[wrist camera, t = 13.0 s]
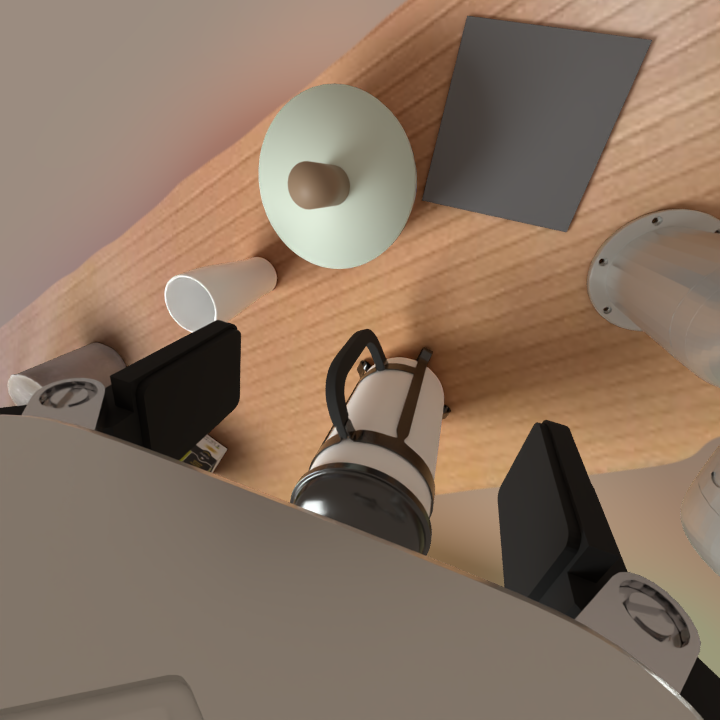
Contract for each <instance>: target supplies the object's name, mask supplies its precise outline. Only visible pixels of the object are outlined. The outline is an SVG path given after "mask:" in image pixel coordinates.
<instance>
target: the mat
mask: <svg viewBox="0 0 720 720" xmlns="http://www.w3.org/2000/svg"><path fill="white" fill-rule="evenodd" d="M651 42H652V40H647V39H640V38H632V37H624V36H617V35H609V34H602V33H594V32H586V31H579V30H571V29H564V28H556V27H549V26H541V25H533V24H526V23H518V22H511V21H503V20H495V19H488V18H480V17H473V16H467V19H466V23H465V27H464V31H463V35H462V40H461V44H460V48H459V52H458V56H457V60H456V64H455V68H454V72H453V76H452V80H451V84H450V88H449V93H448V97H447V101H446V105H445V109H444V113H443V117H442V121H441V125H440V129H439V133H438V137H437V141H436V146H435V150H434V154H433V158H432V162H431V166H430V170H429V174H428V178H427V182H426V186H425V190H424V194H423V199H422V200H423V201H427V202H432V203H436V204H441V205H445V206H450V207H454V208H459V209H463V210H468V211H472V212H477V213H481V214H486V215H491V216H495V217H500V218H504V219H509V220H513V221H518V222H522V223H527V224H531V225H536V226H540V227H545V228H549V229H554V230H558V231H563V232H567V230H568V228H569V225H570V223H571V221H572V219H573V216H574V214H575V212H576V210H577V207H578V205H579V203H580V201H581V198H582V196H583V194H584V192H585V189H586V187H587V185H588V183H589V181H590V178H591V176H592V174H593V172H594V169H595V167H596V165H597V163H598V160H599V158H600V156H601V154H602V151H603V149H604V147H605V145H606V142H607V140H608V138H609V136H610V133H611V131H612V129H613V127H614V124H615V122H616V120H617V118H618V116H619V113H620V111H621V109H622V107H623V104H624V102H625V100H626V98H627V95H628V93H629V91H630V89H631V86H632V84H633V82H634V80H635V77H636V75H637V73H638V71H639V68H640V66H641V64H642V62H643V59H644V57H645V55H646V53H647V51H648V48H649V46H650V44H651Z"/></svg>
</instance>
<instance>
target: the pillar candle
mask: <svg viewBox="0 0 720 720" xmlns="http://www.w3.org/2000/svg"><path fill="white" fill-rule="evenodd" d="M124 368H126V365H125V363H124V361H123V360H122V358H121V357H120V355H119V354H118V353H116V351H115V350H114V349H112V348H110V347H108V346H106V345H103V344H100V343H91V344H89V345H86V346H84V347H81V348H79V349H76V350H74V351H72V352H69V353H66V354H64V355H61V356H59V357H57V358H54V359H52V360H50V361H47V362H45V363H43V364H40V365H38V366H35V367H33V368H30V369H28V370H25V371H23V372H21V373H18V374H15V375H14V374H13V375H11V377H10V379H9V381H8V392H9V395H10V396H11V398H12V400H13V402H14V403H15V405H16V406H21V405H27V404H28V402H29V400H30V398H31V397H32V395H33V394H34V393H35V392H36V391H37V390H39V389H40V388H42V387H43V386H46V385H48V384H51V383H53V382H56V381H60V380H64V379H71V378H89V379H94V380H97V381H99V382H101V383H102V384H103V385H104V386H105V388H106V387H108V386H109V385H111V380H110V375H112V374H114V373H116V372H118V371H120V370H122V369H124Z"/></svg>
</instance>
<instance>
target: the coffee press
mask: <svg viewBox="0 0 720 720" xmlns="http://www.w3.org/2000/svg"><path fill="white" fill-rule="evenodd" d="M366 346H367V347H368V349H369V351H370V353H371V355H372V358H373V360H374V363H375V364H374V365H373V366H372V367H371V365H370V364H369V363H368V362H366V361H361V362H360V364H359V366H358V368H357V371H358V373H359V375H360V380H359V382H358V383H357V385H356V387H355V389H356V388H357V389H356V390H355V389H354V390H353V392H352V394H353V393H354V394H353V395H352V394H351V395H350V397H349V399H348V401H349V400H350V401H349V402H348V401H347V402H345V396H344V386H345V380H346V377H347V374H348V373H349V371H350V369H351V368H352V366H353V365H354V363H355V362H356V360H357V359H358V357H359V356H360V354H361V353H362V351H363V350H364V348H365V347H366ZM432 353H433V351H431V350H429V349H427V348H425V347H424V348H423V349H422V351H421V353H420V355H419V356H418V358H417V360H416V361H415V360H412V359H409V358H402V357H396V358H389V359H386V358H385V355H384V352H383V350H382V347H381V345H380V343H379V341H378V339H377V337H376V335H375V334H374V333H373V332H372V331H371V330H369V329H364V330H360V331H357V332H356V333H354V334H353V335H352V337H351V338H350V339H349V340H348V341H347V343H346V344H345V345H344V346H343V348H342V349H341V350H340V351H339V353H338V354H337V355H336V357H335V358H334V360H333V361H332V363H331V365H330V367H329V370H328V374H327V378H326V402H327V407H328V411H329V414H330V417H331V420H332V423H333V426H332V428H331V430H330V431H329V433H328V435H327V437H326V438H325V440H324V442H323V444H322V445H321V447H320V449H319V450H318V452H317V454H316V455H315V457H314V459H313V461H312V462H311V465H310V468H309V471H308V472H307V473H305V474H304V475H303V476H302V477H301V478H300V480H299V481H298V483H297V484H296V486H295V488H294V490H293V492H292V495H291V500H290V503H292V504H294V505H297V506H299V507H302V508H305V509H307V510H310V511H312V512H315V513H318V514H320V515H323V516H325V517H328V518H331V519H333V520H336V521H338V522H341V523H343V524H346V525H349V526H351V527H354V528H356V529H359V530H361V531H364V532H367V533H369V534H372V535H374V536H377V537H379V538H382V539H384V540H387V541H389V542H392V543H395V544H397V545H400V546H402V547H405V548H407V549H410V550H412V551H415V552H418V553H420V554H423V555H425V556H426V555H427V553H428V551H429V548H430V544H431V536H432V529H431V523H430V516H431V514H432V511H433V504H434V496H435V484H434V477H435V469H436V462H437V454H438V446H439V439H440V431H441V423H442V419H445V418H446V417H447V416H448V414H449V413H450V412H451V410H450V408H449V407H448V406H446V405H444V392H443V388H442V385H441V383H440V381H439V379H438V378H437V376H436V375H435V374H434V373H433V372H432V371H431V370H430V369H429V368H428V367H427V364H428V362H429V359H430V357H431V355H432ZM364 370H365V371H366V373H365V374H364V372H365V371H364ZM358 384H359V385H358ZM357 386H358V387H357ZM354 391H355V392H354ZM351 396H352V397H351ZM350 398H351V399H350ZM347 403H348V404H347ZM346 405H347V406H346ZM334 426H335V427H334ZM333 427H334V429H333ZM332 429H333V430H332ZM331 431H332V432H331ZM330 433H331V434H330ZM329 434H330V436H329ZM328 436H329V437H328ZM327 438H328V439H327ZM326 440H327V441H326ZM325 441H326V442H325ZM431 499H432V501H431Z"/></svg>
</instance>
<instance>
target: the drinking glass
mask: <svg viewBox="0 0 720 720" xmlns="http://www.w3.org/2000/svg"><path fill="white" fill-rule="evenodd" d="M276 283H277V275H276V271H275V269H274V267H273V266H272V264H271V263H270V262H269V261H267V260H266V259H264V258H261V257H252V258H249V259H245V260H239V261H233V262H227V263H221V264H215V265H209V266H204V267H199V268H196V269H192V270H189V271H187V272H184V273H181V274H179V275H176V276H174V277H172V278H171V279H170V280H169V281H168V283H167V285H166V288H165V302H166V306H167V308H168V311H169V312H170V314H171V316H172V317H173V319H174V320H175V321H176V322H177V323H178V324H179V325H180V326H181V327H183V328H184V329H186V330H188V331H190V332H194V331H196V330H198V329H200V328H202V327H204V326H206V325H208V324H210V323H212V322H214V321H216V320H221V321H224V322H228V321H230V320H231V319H233V318H234V317H236V316H237V315H238V314H240V313H241V312H242V311H244V310H245V309H246V308H248V307H249V306H250V305H252V304H253V303H255V302H256V301H257V300H259V299H260V298H261V297H263V296H264V295H266V294H268V293H270V292H271V291H272V290H273V289H274V288H275V286H276Z"/></svg>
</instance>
